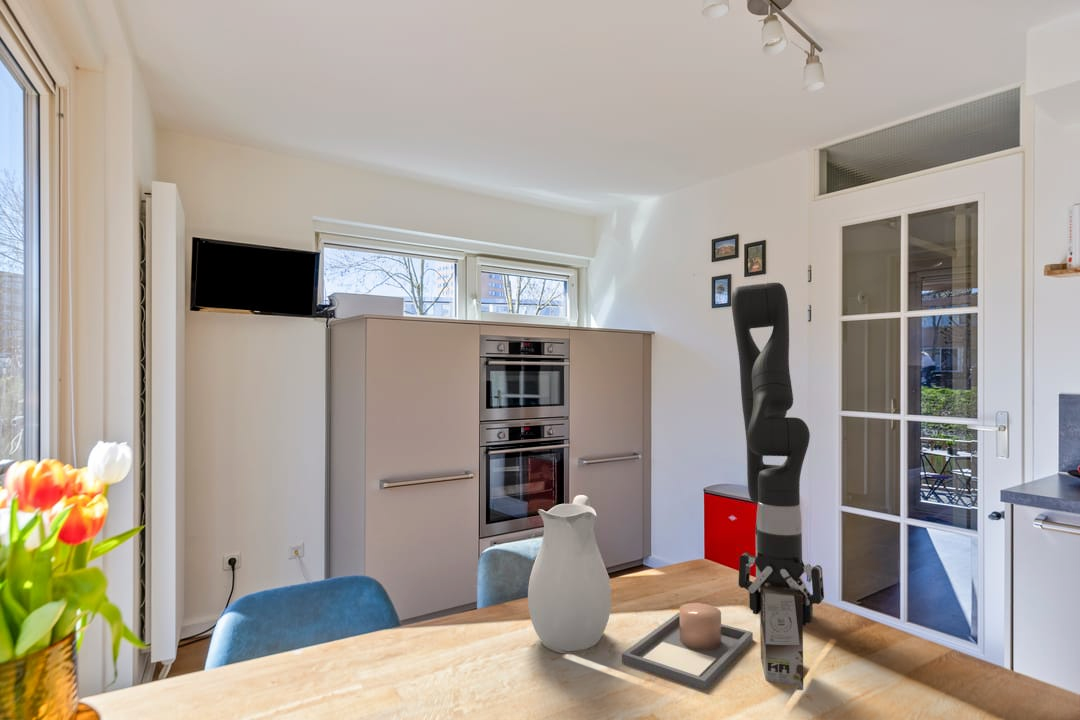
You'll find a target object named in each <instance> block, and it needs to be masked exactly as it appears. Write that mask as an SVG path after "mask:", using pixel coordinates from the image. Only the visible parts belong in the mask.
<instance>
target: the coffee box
mask: <svg viewBox="0 0 1080 720" xmlns="http://www.w3.org/2000/svg"><path fill="white" fill-rule="evenodd" d="M759 623H760V624H759V631H760V633H759V634H760V638H759V639H760V661H761V666H762V670H763V675H764V679H765V681H767V682H774V683H779V684H780V683H781V684H782V683H783V684H787V685H790V684H791V685H797V687H796V690H797V691H802V690H804V640H803V639H804V629H803V627H804V626H803V595H802V593H801V592H794V591H793V590H792V588H791V587H782V586H780V585H772V584H769V582H767V581H765V582H764V583H762V584H761V586H760V613H759Z"/></svg>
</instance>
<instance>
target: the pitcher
mask: <svg viewBox="0 0 1080 720" xmlns="http://www.w3.org/2000/svg"><path fill="white" fill-rule="evenodd" d="M590 503H591V502H590V498H589V497H588V496H587V495H583V494H578V495H576V496H574V498H573V500H572V503H561V504H557V505H554V506H553V507H552V508H550V509H549V510H547V511H545V510H544V509H541V508H540V509H538V510H537V512H538V514H539V516H540V517H541V519H542V522H543V527H544V530H543V536H542V541H541V543H540V546H539V549H538V552H537V554H536V558H535V561H534V563H533V566H532V569H531V571H530V572H531V573H530V577H529V581H528V587H527V588H528V590H527V606H528V612H529V618H530V621H531V624H532V626H533V629H534V631H535V633H536V635H537V636H538V639H539V640H540V642H541V643H542V644H543V646H544V647H545V648H547V649H548V650H550V651H552V652H555V653H559V654H564V655H565V654H567V655H569V654H572V653H571V652H575V651H583V650H587V649H590V648H592V647H594V646H596V645H597V644H598V642H599V641H600V639H601V638H602V636H603V634H604V632H605V630H606V628H607V625H608V622H609V619H610V615H611V609H612V607H611V606H612V591H611V590H612V589H611V583H610V578H609V575H608V571H607V568H606V565H605V562H604V559H603V557H602V554H601V551H600V549H599V546H598V544H597V541H596V535H595V524H596V520H597V519H598V517H597V516H598V515H597V513H596V510H595V509H594V508H593V507H591V506H590V505H591V504H590Z"/></svg>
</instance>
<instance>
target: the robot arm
mask: <svg viewBox="0 0 1080 720" xmlns="http://www.w3.org/2000/svg"><path fill="white" fill-rule="evenodd" d="M787 294H788V293H787V290H786V289H785V286H784V285H783V284H782V283H780V282H766V283H757V284H748V285H742V286H737V287H735V288H734V289H733V290H732V293H731V311H732V319H733V320H732V321H733V324H734V325H733V326H734V333H735V339H736V346H737V351H738V352H737V353H738V360H739V361H738V363H739V376H740V377H739V378H740V392H741V393H740V394H741V395H740V396H741V405H742V412H743V413H742V414H743V419H744V420H743V421H744V422H743V423H744V430H745V440H746V464H747V466H746V467H747V469H746V470H747V471H746V472H747V473H746V474H747V490H748V491H747V492H748V496H749V499H750V500H751V501H752V503H754V504H757V509H756V519H755V521H756V523H755V525H754V526H755V529H754V531H755V533H754V534H755V555H751V554H750V553H749V552H744V553H743V554H741V555H740V556H739V561H738V562H739V565H738V567H739V568H738V586H739V587H740V588H741V589H746V590H747V591H748V594H749V599H748V600H749V608H750V610H751V611H752V614H754V615H759V614H760V586H761V584H762V583H764V582H765V581H767V582H769V584H772V585H780V586H782V587H791V588H792V590H793V591H794V592H801V593H802V595H803V627H808V626H809V625H810V624H811V622H813V619H814V616H813V615H814V613H813V612H814V609H813V607H814V605H815V604H816V605H820V604H821V603H822V602H823V600H824V599H825V589H824V579H823V577H824V576H823V567H822V566H821V565H818V564H817V565H815V566H811V565H805V563H804V561H803V539H802V538H803V530H802V529H803V528H802V513H801V502H800V499H801V498H800V489H801V488H800V481H801V480H800V479H801V473H802V468H803V465H804V460H805V459H806V458H805V457H806V454H807V451H808V448H809V444H810V438H811V433H810V430H809V427H808V425H807V423H806V422H805V421H804V420H803V419H802V418H799V417H793V416H791V417H786V416H787V413H788V411H789V410H791V408H792V407H793V405H794V394H793V393H794V392H793V388H792V379H791V371H790V319H789V318H790V316H789V315H790V314H789V313H790V312H789V311H790V310H789V301H788V295H787ZM769 327H772V331H771V335H770V337H769V339H768V341H767V343H766V344H765V345H764V346H763V349H761V351H760V348H759V347H758V346H757V344H756V342H755V341H754V338H753V336H752V333H751V329H759V328H769ZM764 457H786V460H785V461H784V462H783V463H782V464H779V465H777V464H765V463H764ZM754 564H755V579H754V581H751V580H750V576H751V567H752V566H753V565H754ZM804 573H805V574H806V575H807V577H808V579H809V580H811V585H812V586H811V588H812V593H811V592H810V591H809V589H808V588H807V585H806V583H805V582H804V580H803V579H802V577H801V576H803V574H804Z"/></svg>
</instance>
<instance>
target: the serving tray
mask: <svg viewBox="0 0 1080 720" xmlns="http://www.w3.org/2000/svg"><path fill="white" fill-rule="evenodd" d="M753 633H754V632H752V631H750V630H745V629H741V628H738V627H734V626H731V625H726V624H722V623H721V646H720V647H719V648H717V649H715V650H708V651H704V650H696V649H692V648H689V647H687V646H685V645H683V644H682V643H681V641H680V612H677V613H675V615H673V616H671V617H670V618H669V619H668V620H666V621H664V623H662V624H660V626H658V627H657V628H655V629H654V630H652V631H651V632H649V633H648V634H647V635H645V637H643V638H642V639H640V640H639V641H637V642H636V643H635V644H633V645H632V646H630V647H629V648H628V649H626V650H625V651H623V652H622V653H621V663H622V664H626V665H629V666H632V667H635V668H638V669H641V670H643V671H646V672H650V673H653V674H655V675H658V676H662V677H663V678H667V679H670V680H673V681H676V682H679V683H682V684H684V685H688V686H690V687H693V688H696V689H700V690H702V691H706V690H707V689H708V688H709V686H710V685H712V683H713V682H714V681H716V679H717V678H718V677H720V675H721V674H722V673H723V672H724V671H725V670H726V669H727V668H728V667H729V666H730V665H731V664H732V663H733V662H734V660H735V659H737V657H739V655H740V654H741V653H742V652H743V651H744V650H745V649H746V647H748V646H749V644H750V643H751V642H753V640H754V636H753Z"/></svg>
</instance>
